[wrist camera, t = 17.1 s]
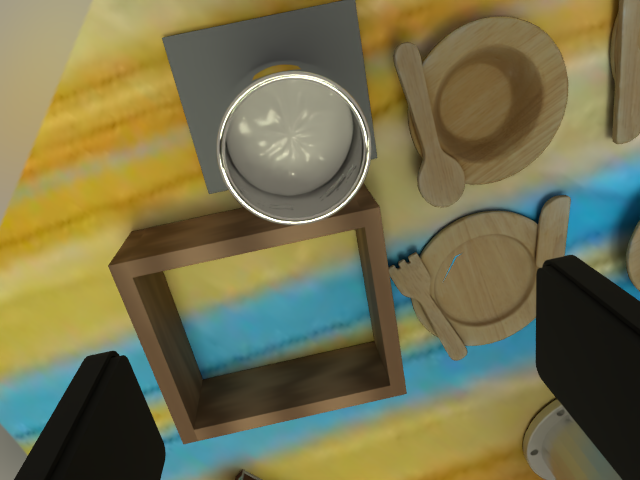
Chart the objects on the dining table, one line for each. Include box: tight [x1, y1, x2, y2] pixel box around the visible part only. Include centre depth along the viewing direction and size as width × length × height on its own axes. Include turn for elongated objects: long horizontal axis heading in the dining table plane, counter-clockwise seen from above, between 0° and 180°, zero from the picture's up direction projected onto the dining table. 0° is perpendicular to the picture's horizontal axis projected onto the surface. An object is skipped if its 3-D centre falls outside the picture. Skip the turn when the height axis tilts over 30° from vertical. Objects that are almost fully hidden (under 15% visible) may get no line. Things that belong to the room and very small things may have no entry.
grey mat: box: [162, 0, 377, 194], centre depth 34 cm, size 13×11×1 cm
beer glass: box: [217, 60, 372, 225], centre depth 27 cm, size 7×7×15 cm
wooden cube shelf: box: [108, 183, 407, 444], centre depth 37 cm, size 18×16×6 cm
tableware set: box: [388, 0, 640, 360], centre depth 37 cm, size 35×29×4 cm
